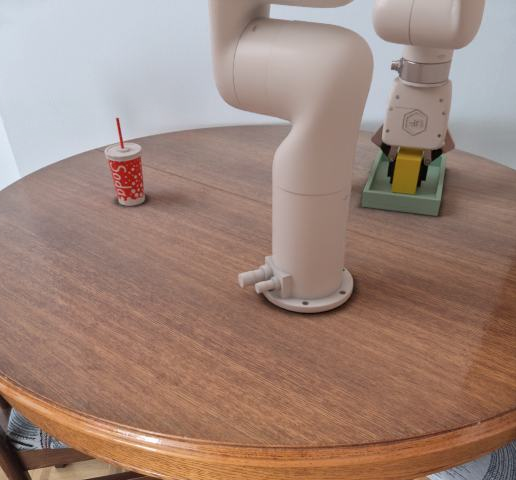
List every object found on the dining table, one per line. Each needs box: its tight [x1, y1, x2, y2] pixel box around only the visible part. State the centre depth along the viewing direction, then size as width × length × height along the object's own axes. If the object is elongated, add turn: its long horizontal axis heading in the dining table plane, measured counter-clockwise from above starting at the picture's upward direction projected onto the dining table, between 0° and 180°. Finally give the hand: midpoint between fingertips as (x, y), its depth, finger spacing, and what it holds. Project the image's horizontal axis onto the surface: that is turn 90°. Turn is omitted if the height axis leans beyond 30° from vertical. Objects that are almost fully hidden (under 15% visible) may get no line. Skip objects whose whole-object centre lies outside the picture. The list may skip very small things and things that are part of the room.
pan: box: [361, 148, 448, 217], centre depth 97 cm, size 20×13×3 cm, turn 163°
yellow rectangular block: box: [391, 147, 424, 195], centre depth 95 cm, size 7×4×6 cm, turn 162°
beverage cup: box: [104, 117, 146, 207], centre depth 91 cm, size 6×6×14 cm
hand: (405, 181), depth 97 cm, fingers closed on yellow rectangular block, 4 cm apart
